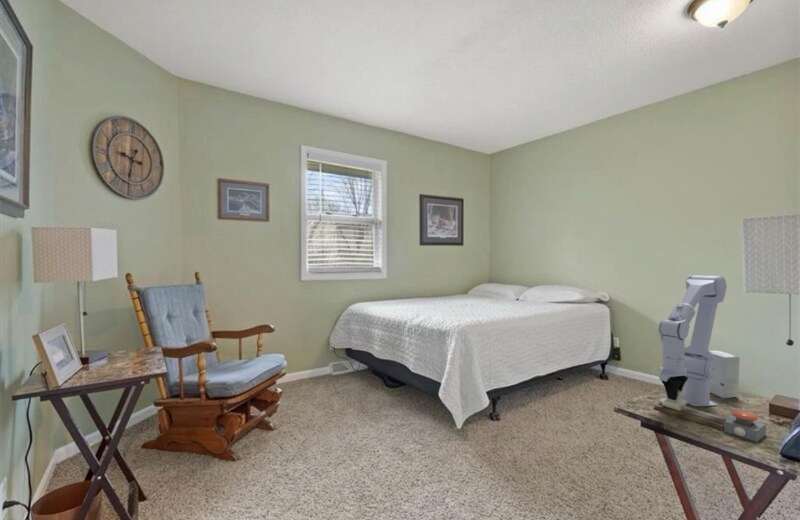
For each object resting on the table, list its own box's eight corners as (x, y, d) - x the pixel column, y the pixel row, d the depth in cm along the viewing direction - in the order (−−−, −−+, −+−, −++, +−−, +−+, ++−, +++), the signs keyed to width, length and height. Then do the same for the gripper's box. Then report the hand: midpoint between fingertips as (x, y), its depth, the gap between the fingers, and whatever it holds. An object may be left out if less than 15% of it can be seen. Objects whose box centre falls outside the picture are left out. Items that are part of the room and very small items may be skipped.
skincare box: (702, 390, 137) (702, 350, 137) (717, 389, 138) (717, 349, 137) (724, 399, 129) (724, 356, 128) (740, 397, 129) (740, 355, 129)
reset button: (729, 424, 106) (729, 413, 106) (736, 419, 109) (736, 408, 109) (753, 431, 102) (753, 419, 101) (760, 426, 104) (760, 415, 104)
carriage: (660, 406, 121) (660, 389, 121) (669, 401, 124) (669, 385, 124) (678, 411, 117) (678, 394, 116) (687, 407, 120) (687, 390, 119)
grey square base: (723, 431, 106) (723, 421, 106) (733, 425, 110) (733, 415, 110) (756, 442, 100) (756, 431, 100) (765, 434, 104) (765, 424, 104)
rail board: (654, 408, 123) (654, 401, 122) (663, 404, 126) (663, 397, 126) (722, 430, 107) (722, 422, 107) (731, 424, 110) (730, 417, 110)
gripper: (670, 350, 127) (670, 389, 127) (648, 357, 120) (649, 399, 120) (694, 355, 121) (695, 396, 121) (673, 363, 114) (673, 406, 114)
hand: (673, 398), depth 120 cm, fingers closed on carriage, 2 cm apart
